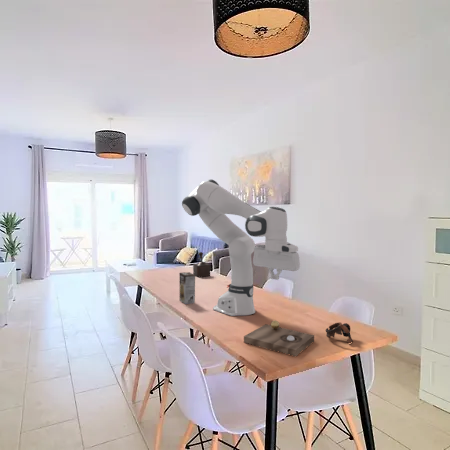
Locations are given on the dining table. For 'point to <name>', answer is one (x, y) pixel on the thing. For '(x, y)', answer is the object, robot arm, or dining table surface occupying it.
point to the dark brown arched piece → (339, 330)
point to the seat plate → (279, 339)
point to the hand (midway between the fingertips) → (274, 279)
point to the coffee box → (187, 287)
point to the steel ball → (290, 338)
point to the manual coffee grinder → (201, 268)
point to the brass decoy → (274, 324)
